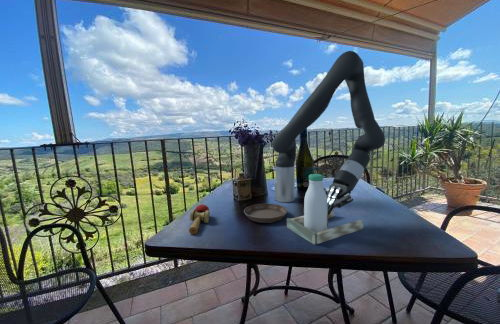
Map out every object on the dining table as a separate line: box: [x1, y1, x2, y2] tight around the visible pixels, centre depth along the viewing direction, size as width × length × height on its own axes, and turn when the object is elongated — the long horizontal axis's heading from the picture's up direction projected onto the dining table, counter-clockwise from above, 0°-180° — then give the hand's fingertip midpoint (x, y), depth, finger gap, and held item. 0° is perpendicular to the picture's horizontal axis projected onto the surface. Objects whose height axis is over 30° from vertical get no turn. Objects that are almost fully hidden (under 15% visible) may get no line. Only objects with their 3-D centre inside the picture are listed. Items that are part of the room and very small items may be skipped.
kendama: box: [188, 203, 210, 235], centre depth 88 cm, size 8×6×18 cm
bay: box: [286, 208, 364, 246], centre depth 80 cm, size 22×14×4 cm, turn 117°
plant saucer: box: [243, 203, 288, 224], centre depth 94 cm, size 18×18×3 cm
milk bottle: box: [303, 173, 329, 233], centre depth 76 cm, size 8×8×20 cm
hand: (324, 214), depth 79 cm, fingers closed
